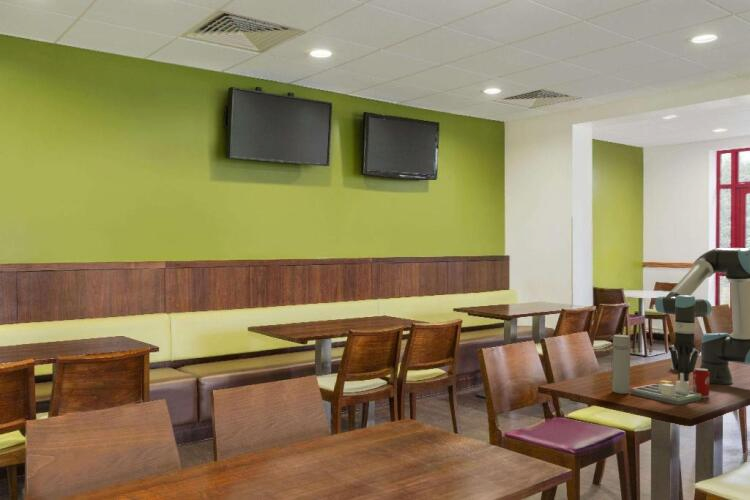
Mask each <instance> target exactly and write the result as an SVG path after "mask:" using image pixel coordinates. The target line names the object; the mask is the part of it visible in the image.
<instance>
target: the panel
mask: <svg viewBox="0 0 750 500" xmlns="http://www.w3.org/2000/svg"><path fill="white" fill-rule="evenodd" d="M633 394H634V395H633ZM630 395H633V396H638V397H643V398H648V399H650V400H656V401H661V402H664V403H669V404H673V405H678V406H680V405H684V404H689V403H692V402H696V401H701V400H702V398H701V394H700V393H695V392H693V391H690V392H689V394H686V393H681V392H676V387H675V397H671V396H666V395H662V394H661V391H659V384H656V383H651V384H646V385H641V386H636V387H631V388H630Z"/></svg>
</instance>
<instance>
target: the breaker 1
mask: <svg viewBox="0 0 750 500" xmlns="http://www.w3.org/2000/svg"><path fill="white" fill-rule="evenodd" d="M675 388H676V384H673V385H672V384H667V383H666V384H661V394H662V395H666V396H671V397H675Z"/></svg>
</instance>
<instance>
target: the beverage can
mask: <svg viewBox="0 0 750 500" xmlns="http://www.w3.org/2000/svg"><path fill="white" fill-rule="evenodd" d="M692 392H695V393H700V394H701V399H707V398H708V397H710V383H709V372H708V369H705V368H700V367H695V368H694V372H692Z"/></svg>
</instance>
